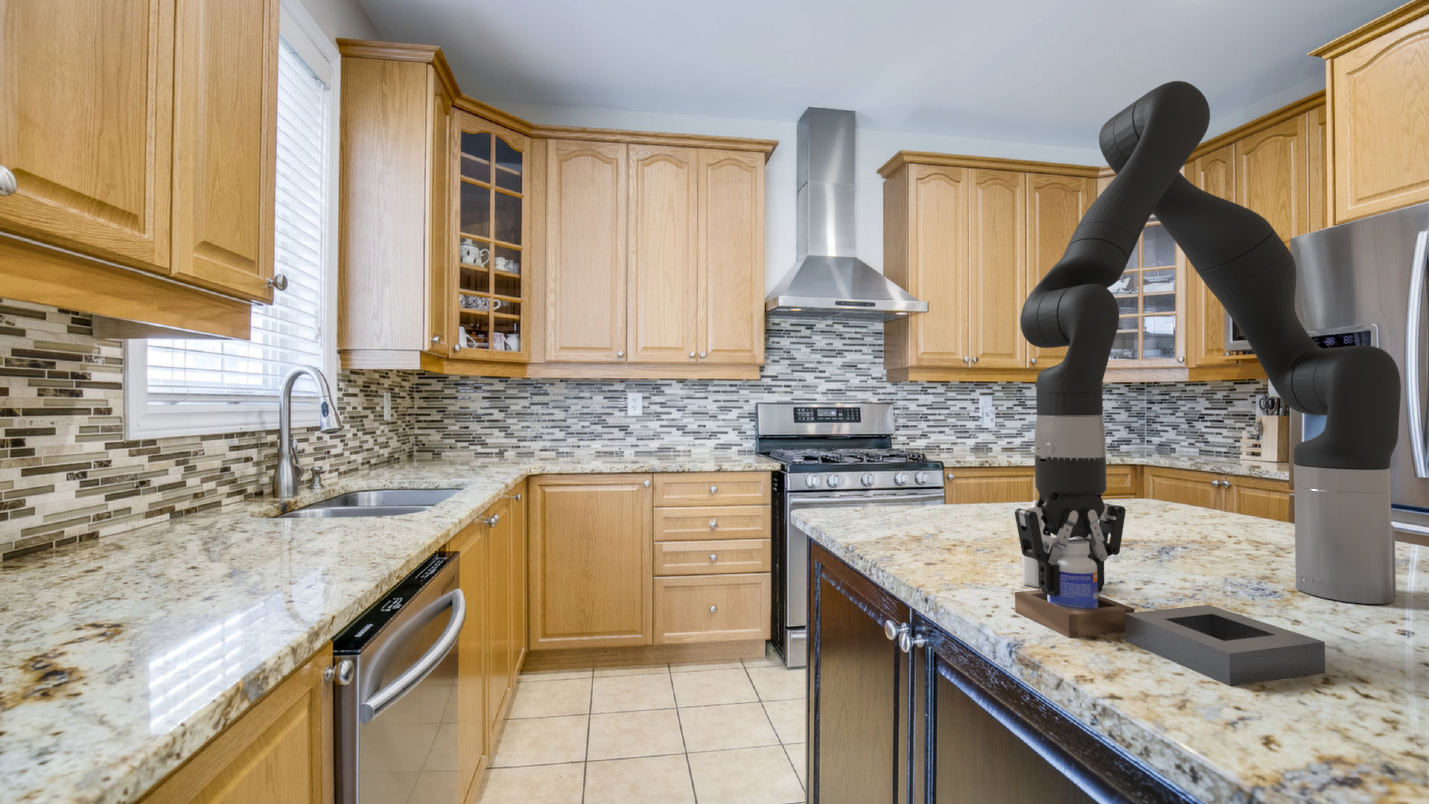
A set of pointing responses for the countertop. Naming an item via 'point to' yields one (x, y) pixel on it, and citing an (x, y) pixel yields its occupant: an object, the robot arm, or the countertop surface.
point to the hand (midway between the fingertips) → (1071, 591)
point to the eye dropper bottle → (1030, 566)
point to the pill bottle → (1076, 577)
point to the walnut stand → (1072, 615)
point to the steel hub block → (1225, 644)
